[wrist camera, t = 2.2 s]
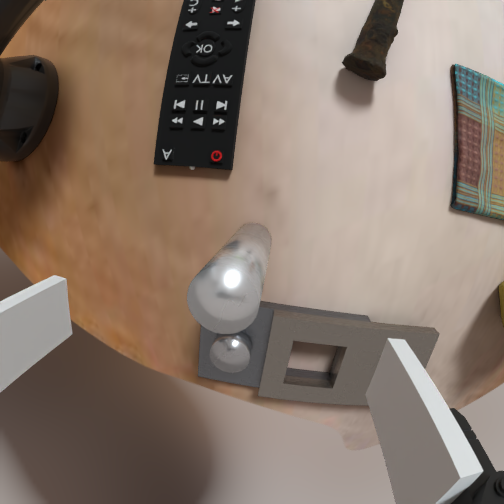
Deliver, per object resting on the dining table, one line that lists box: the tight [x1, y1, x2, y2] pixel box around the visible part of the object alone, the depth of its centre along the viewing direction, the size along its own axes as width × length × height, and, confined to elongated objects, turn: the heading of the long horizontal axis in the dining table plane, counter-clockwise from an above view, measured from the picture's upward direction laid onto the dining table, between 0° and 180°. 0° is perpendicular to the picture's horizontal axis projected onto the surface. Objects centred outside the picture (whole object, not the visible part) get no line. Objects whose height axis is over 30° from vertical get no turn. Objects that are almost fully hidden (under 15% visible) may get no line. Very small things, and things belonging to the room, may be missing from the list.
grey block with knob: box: [258, 309, 439, 406], centre depth 28 cm, size 18×10×4 cm, turn 82°
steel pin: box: [187, 223, 272, 334], centre depth 21 cm, size 4×4×15 cm
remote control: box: [154, 0, 255, 170], centre depth 23 cm, size 8×32×2 cm, turn 173°
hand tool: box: [342, 0, 404, 81], centre depth 19 cm, size 19×4×5 cm, turn 155°
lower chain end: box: [198, 301, 371, 388], centre depth 29 cm, size 17×10×4 cm, turn 82°
